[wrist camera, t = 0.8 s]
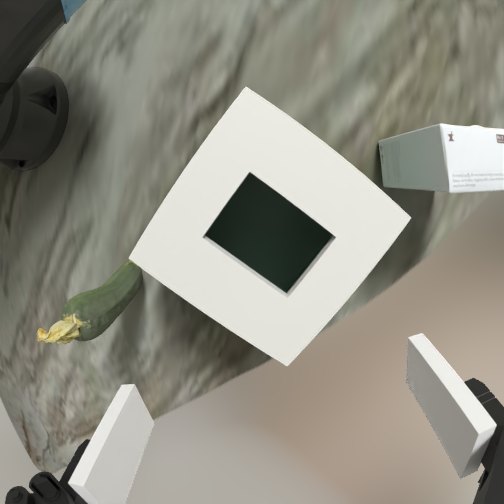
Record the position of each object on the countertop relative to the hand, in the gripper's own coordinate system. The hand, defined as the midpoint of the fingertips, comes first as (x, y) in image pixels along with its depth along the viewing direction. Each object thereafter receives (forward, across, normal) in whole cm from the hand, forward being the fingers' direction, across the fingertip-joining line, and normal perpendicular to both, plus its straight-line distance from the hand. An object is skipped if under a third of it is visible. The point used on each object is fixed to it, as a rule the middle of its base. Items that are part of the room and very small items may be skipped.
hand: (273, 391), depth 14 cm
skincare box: (+26, +20, +7) cm, 33 cm away
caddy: (+26, +1, +4) cm, 26 cm away
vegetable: (+26, -17, 0) cm, 31 cm away
